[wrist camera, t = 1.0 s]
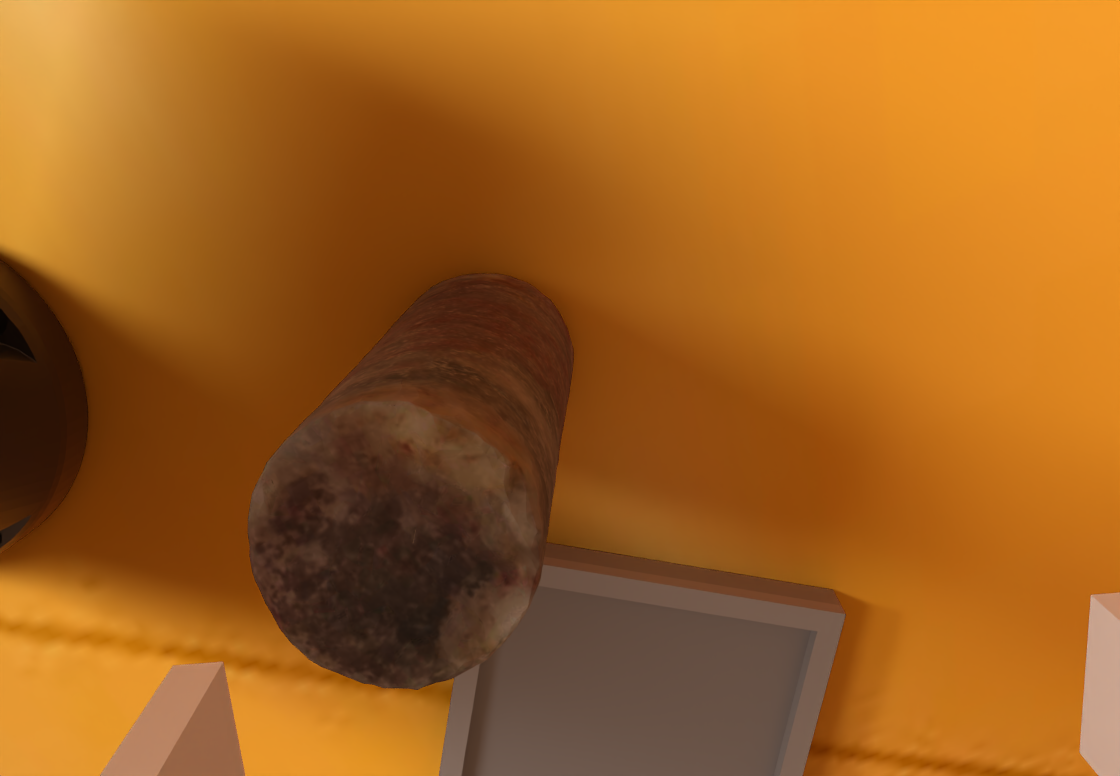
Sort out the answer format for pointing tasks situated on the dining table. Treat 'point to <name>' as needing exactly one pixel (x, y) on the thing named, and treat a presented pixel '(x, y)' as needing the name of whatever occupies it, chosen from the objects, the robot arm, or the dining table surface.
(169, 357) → the dining table surface
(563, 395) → the brown cylinder
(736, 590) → the tray
